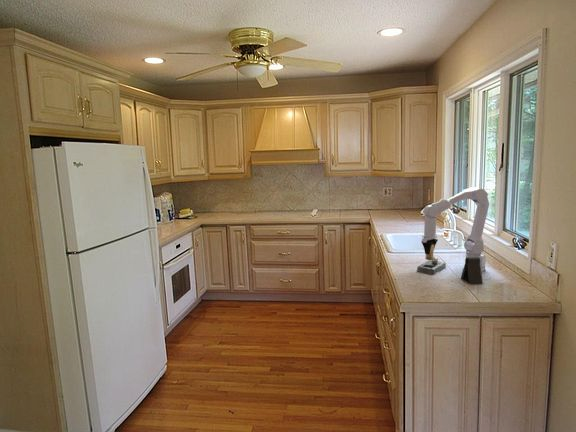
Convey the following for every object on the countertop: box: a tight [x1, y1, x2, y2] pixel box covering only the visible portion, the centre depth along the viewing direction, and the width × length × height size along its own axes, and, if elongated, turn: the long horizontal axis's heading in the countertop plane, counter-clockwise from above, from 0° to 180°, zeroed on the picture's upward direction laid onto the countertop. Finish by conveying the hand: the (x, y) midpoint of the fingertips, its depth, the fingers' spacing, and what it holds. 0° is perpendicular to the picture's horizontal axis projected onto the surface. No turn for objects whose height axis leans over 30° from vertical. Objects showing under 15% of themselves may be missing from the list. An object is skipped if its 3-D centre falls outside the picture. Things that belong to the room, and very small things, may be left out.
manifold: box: [416, 256, 447, 275], centre depth 214 cm, size 9×16×6 cm, turn 137°
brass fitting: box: [424, 244, 435, 261], centre depth 210 cm, size 4×4×8 cm
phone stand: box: [460, 257, 484, 285], centre depth 193 cm, size 9×6×12 cm, turn 6°
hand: (429, 253), depth 210 cm, fingers closed on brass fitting, 4 cm apart
